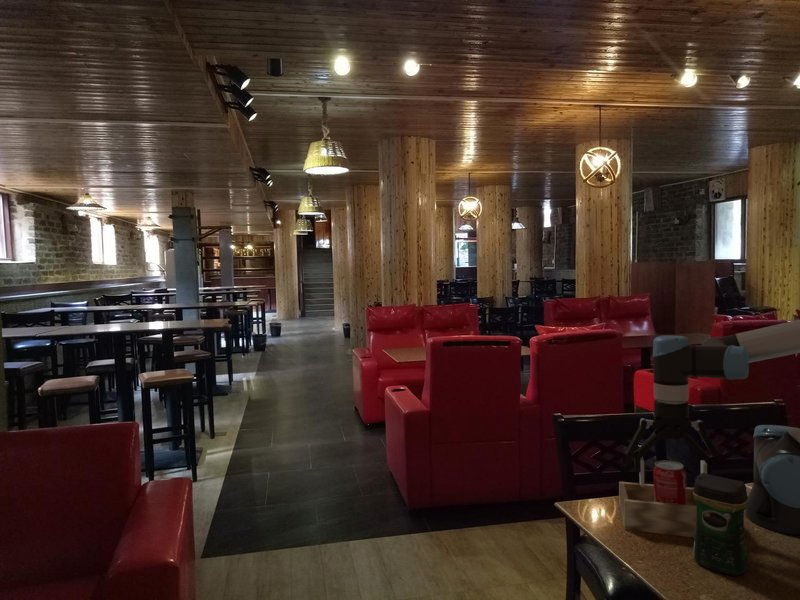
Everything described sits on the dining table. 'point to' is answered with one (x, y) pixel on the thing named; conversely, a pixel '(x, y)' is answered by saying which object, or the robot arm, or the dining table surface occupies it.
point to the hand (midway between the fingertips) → (672, 487)
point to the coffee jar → (720, 524)
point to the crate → (655, 511)
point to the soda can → (670, 483)
